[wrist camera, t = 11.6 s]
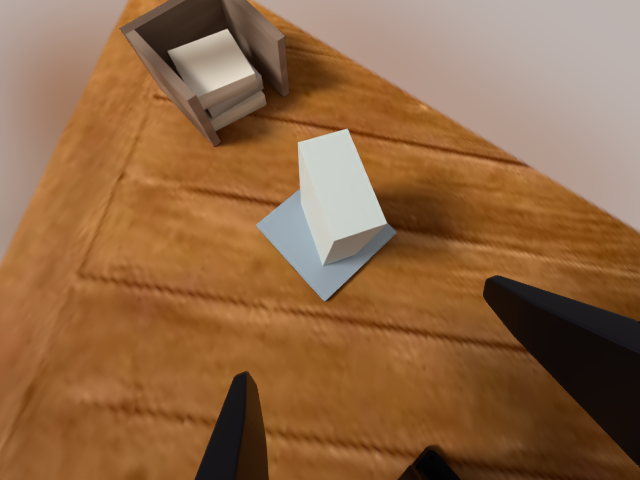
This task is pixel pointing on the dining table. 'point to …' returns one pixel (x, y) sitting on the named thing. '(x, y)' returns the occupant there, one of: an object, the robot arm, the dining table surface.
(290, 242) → the mat
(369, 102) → the dining table surface
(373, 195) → the pale grey rectangular block
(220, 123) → the offcut stack
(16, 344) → the dining table surface
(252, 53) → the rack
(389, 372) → the dining table surface
